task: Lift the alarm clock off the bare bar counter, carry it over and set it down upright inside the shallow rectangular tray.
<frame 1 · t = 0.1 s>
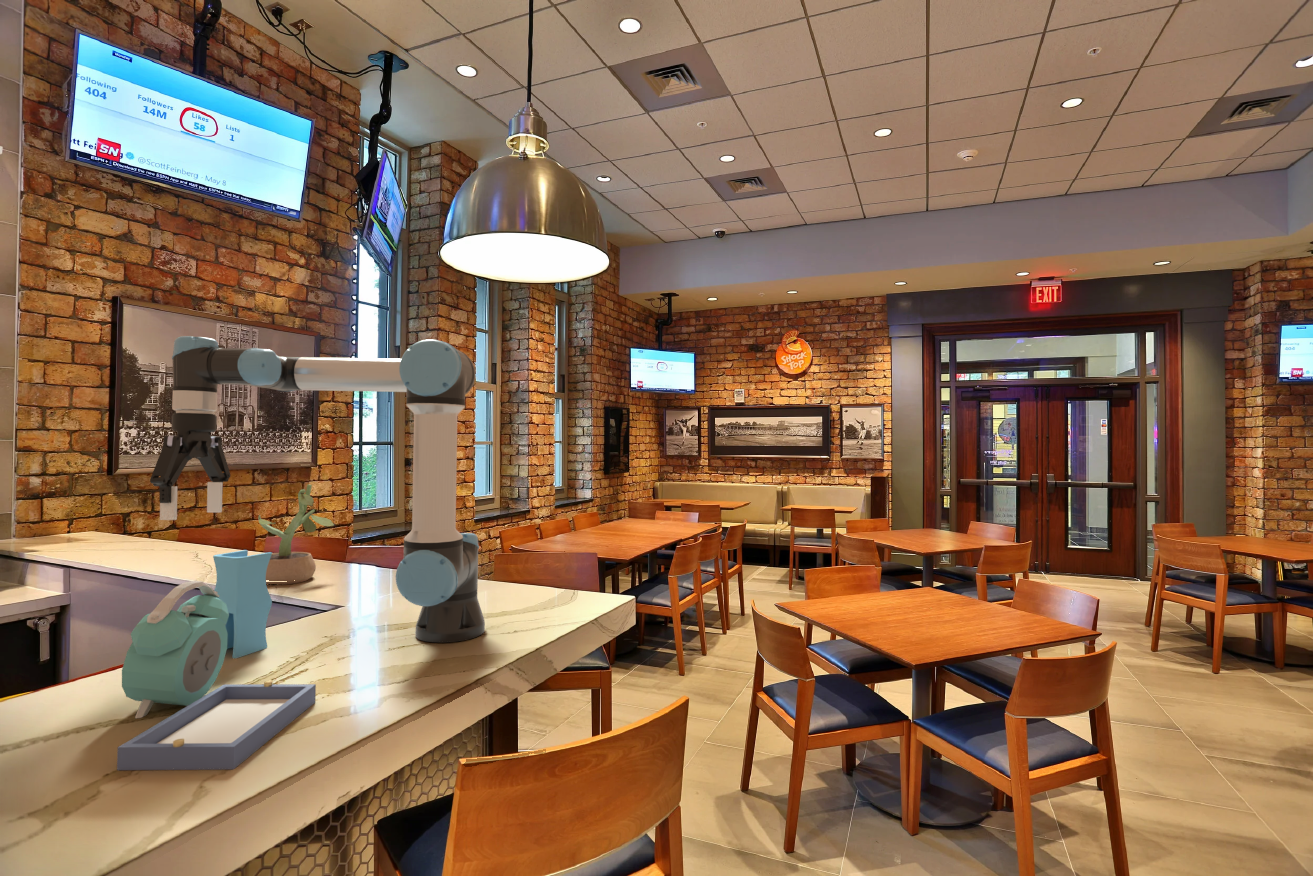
hand: (192, 516, 131), 28 cm above the bar counter, fingers open, 13 cm apart
potted plant: (292, 581, 198), on the bar counter
alarm clock: (177, 704, 106), on the bar counter
shallow rectangular tray: (228, 732, 95), on the bar counter
vase: (239, 651, 132), on the bar counter
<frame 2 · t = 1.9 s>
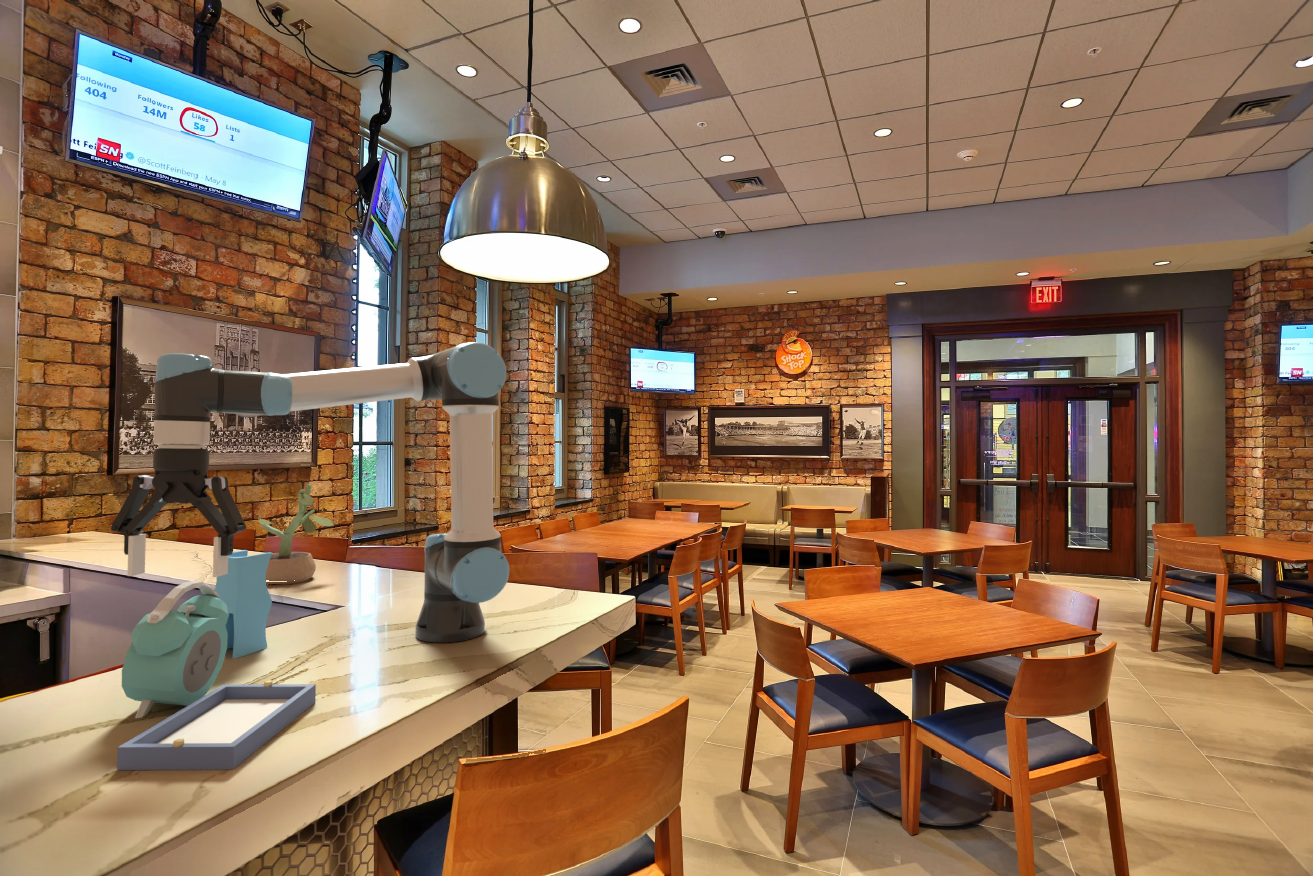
hand: (178, 575, 106), 21 cm above the bar counter, fingers open, 13 cm apart
nothing on the bar counter moved.
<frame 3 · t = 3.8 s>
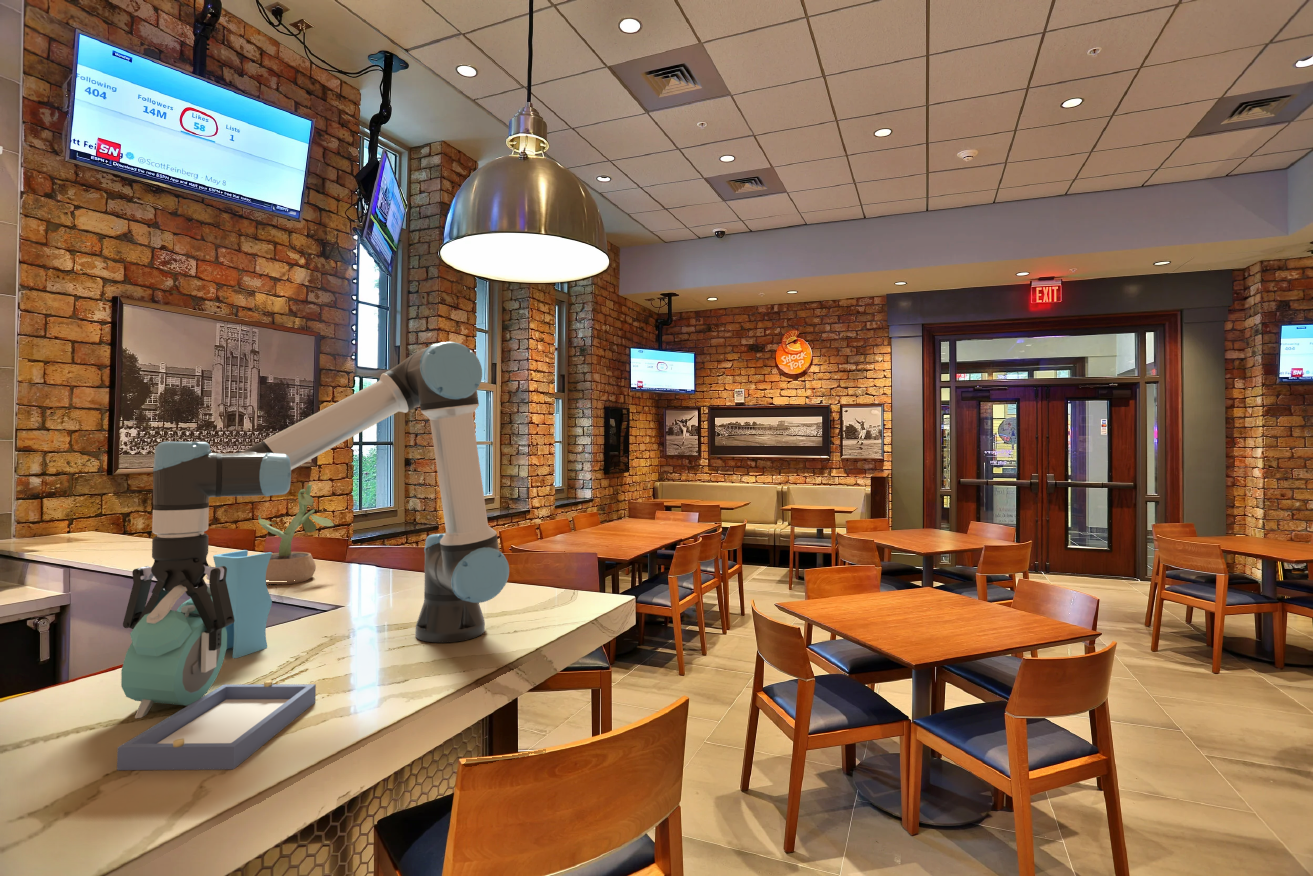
hand: (178, 669, 106), 5 cm above the bar counter, fingers closed on alarm clock, 9 cm apart
alarm clock: (176, 704, 106), on the bar counter, touching gripper
everything else where it was.
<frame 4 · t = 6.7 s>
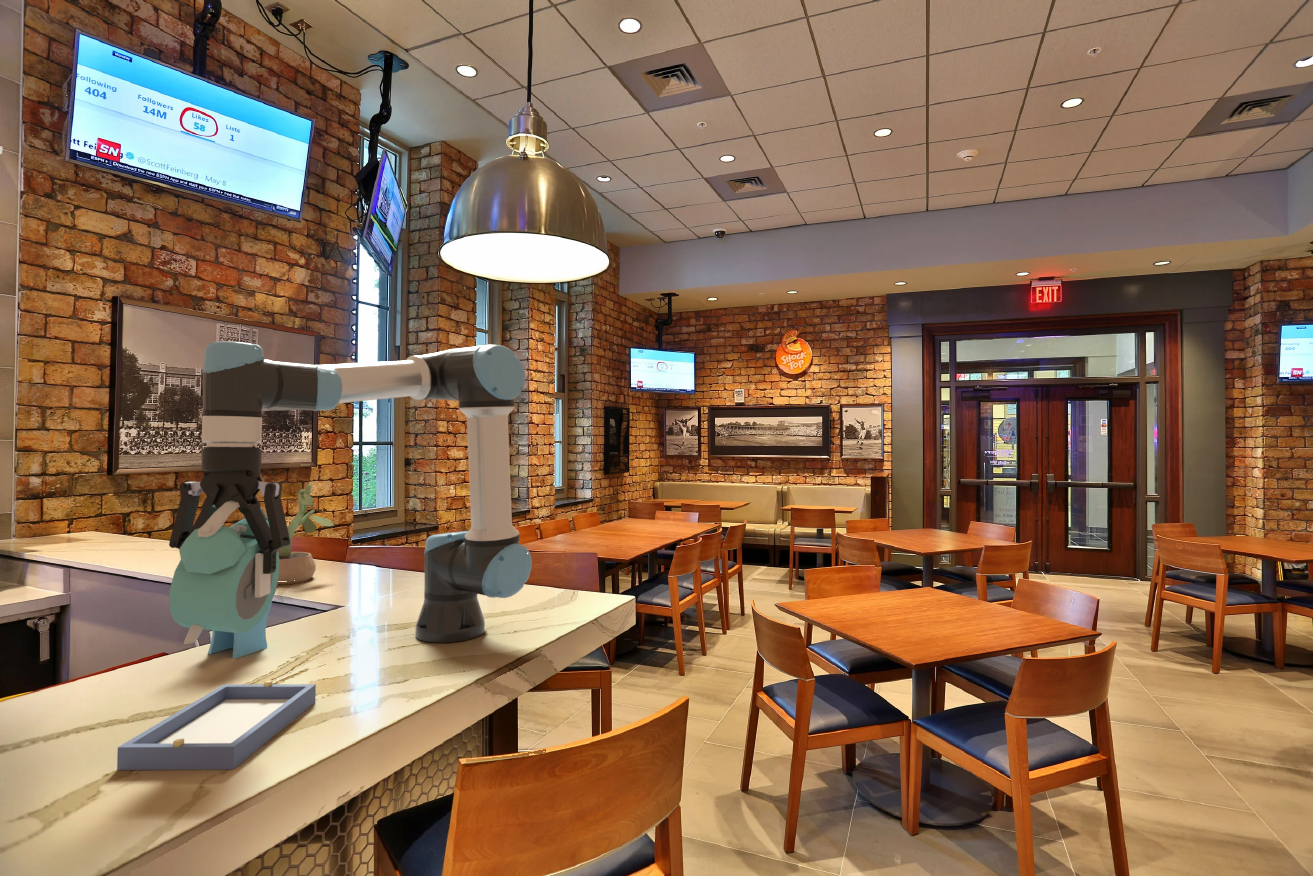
hand: (229, 595, 96), 20 cm above the bar counter, fingers closed on alarm clock, 9 cm apart
alarm clock: (227, 633, 96), point 15 cm above the bar counter, touching gripper
everything else where it was.
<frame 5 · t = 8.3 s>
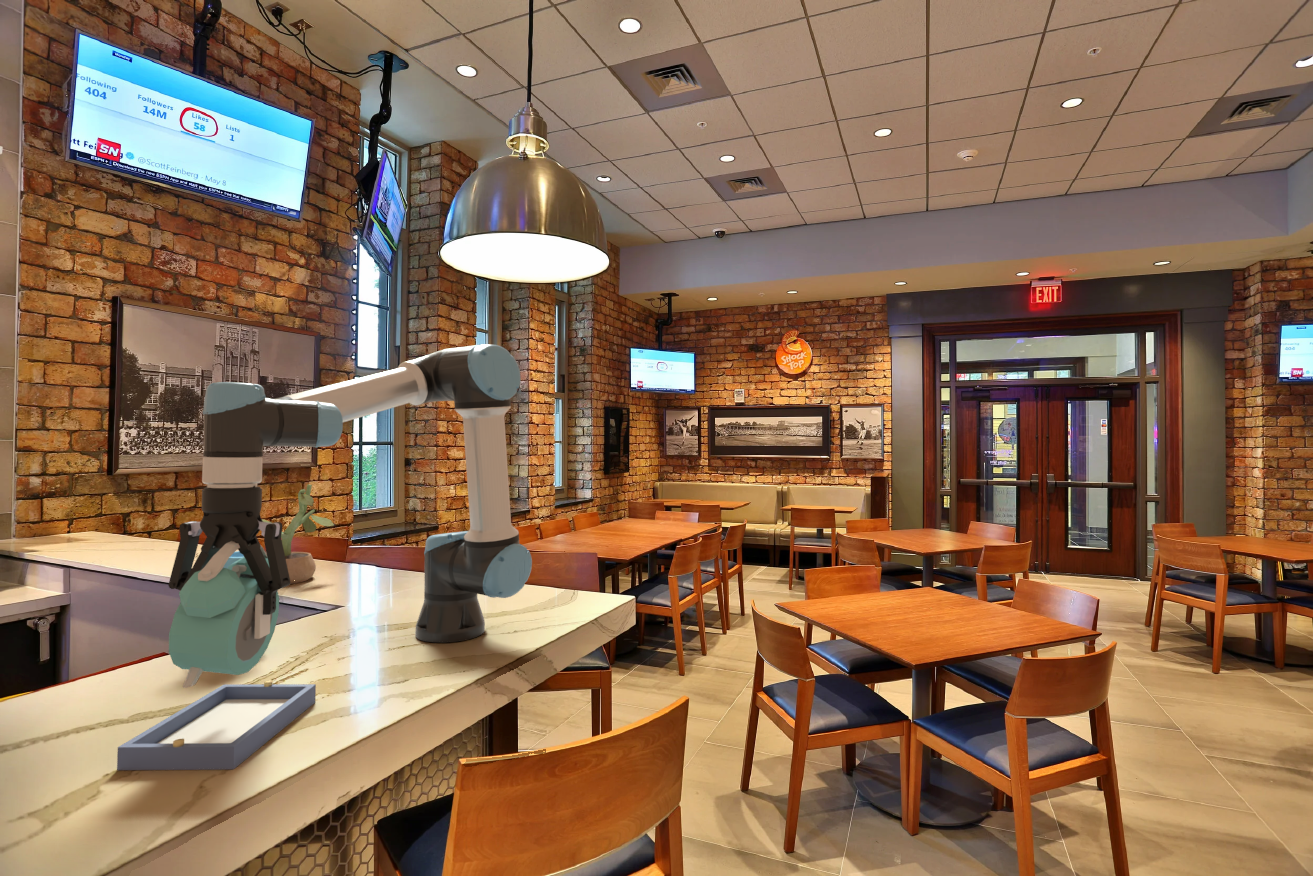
hand: (229, 635, 95), 14 cm above the bar counter, fingers closed on alarm clock, 9 cm apart
alarm clock: (226, 674, 95), point 9 cm above the bar counter, touching gripper
everything else where it was.
when the fingers open (8 cm above the bar counter, at t = 9.8 s): alarm clock drops 2 cm, resting on shallow rectangular tray.
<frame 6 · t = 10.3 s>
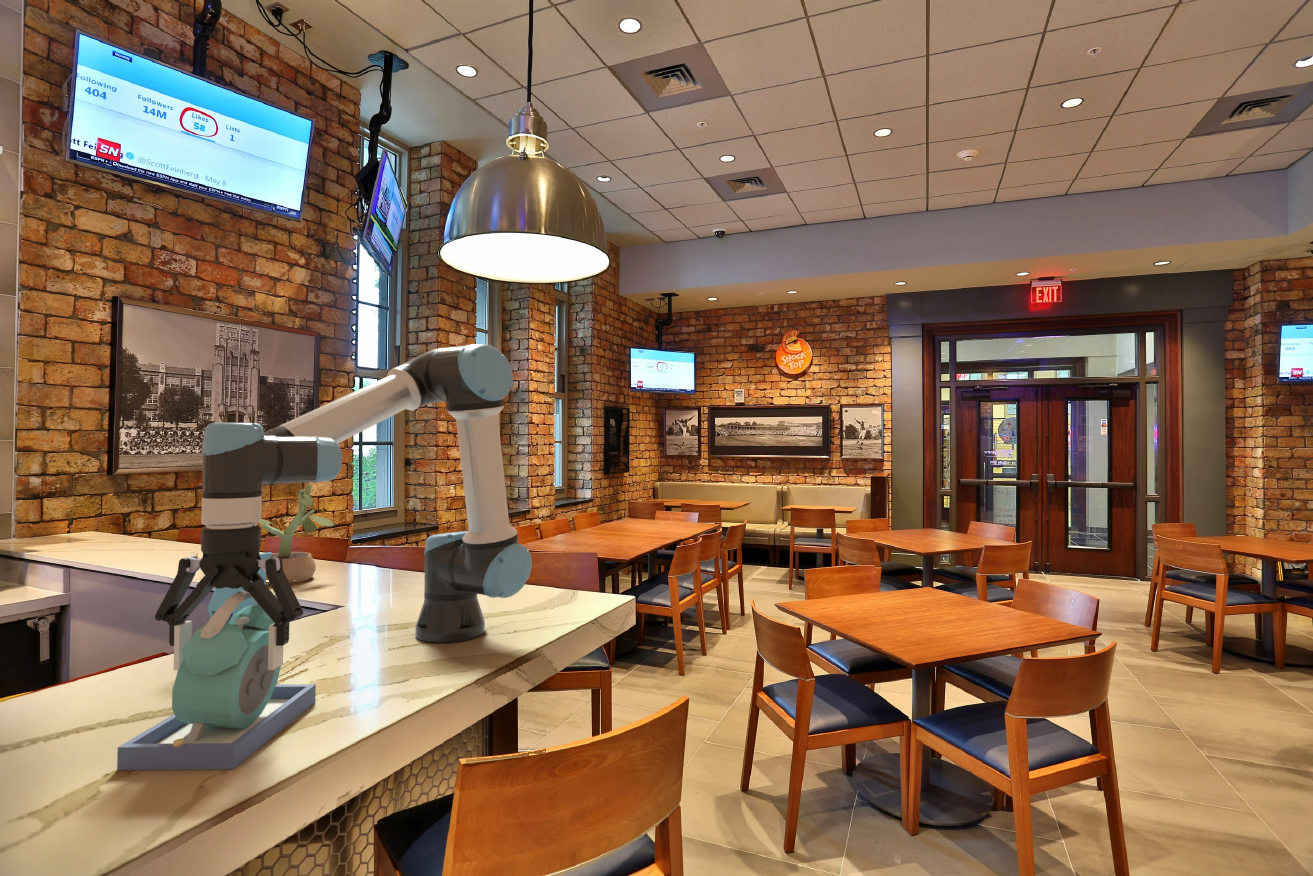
hand: (229, 667, 95), 10 cm above the bar counter, fingers open, 13 cm apart
alarm clock: (230, 726, 95), point 1 cm above the bar counter, touching shallow rectangular tray
everything else where it was.
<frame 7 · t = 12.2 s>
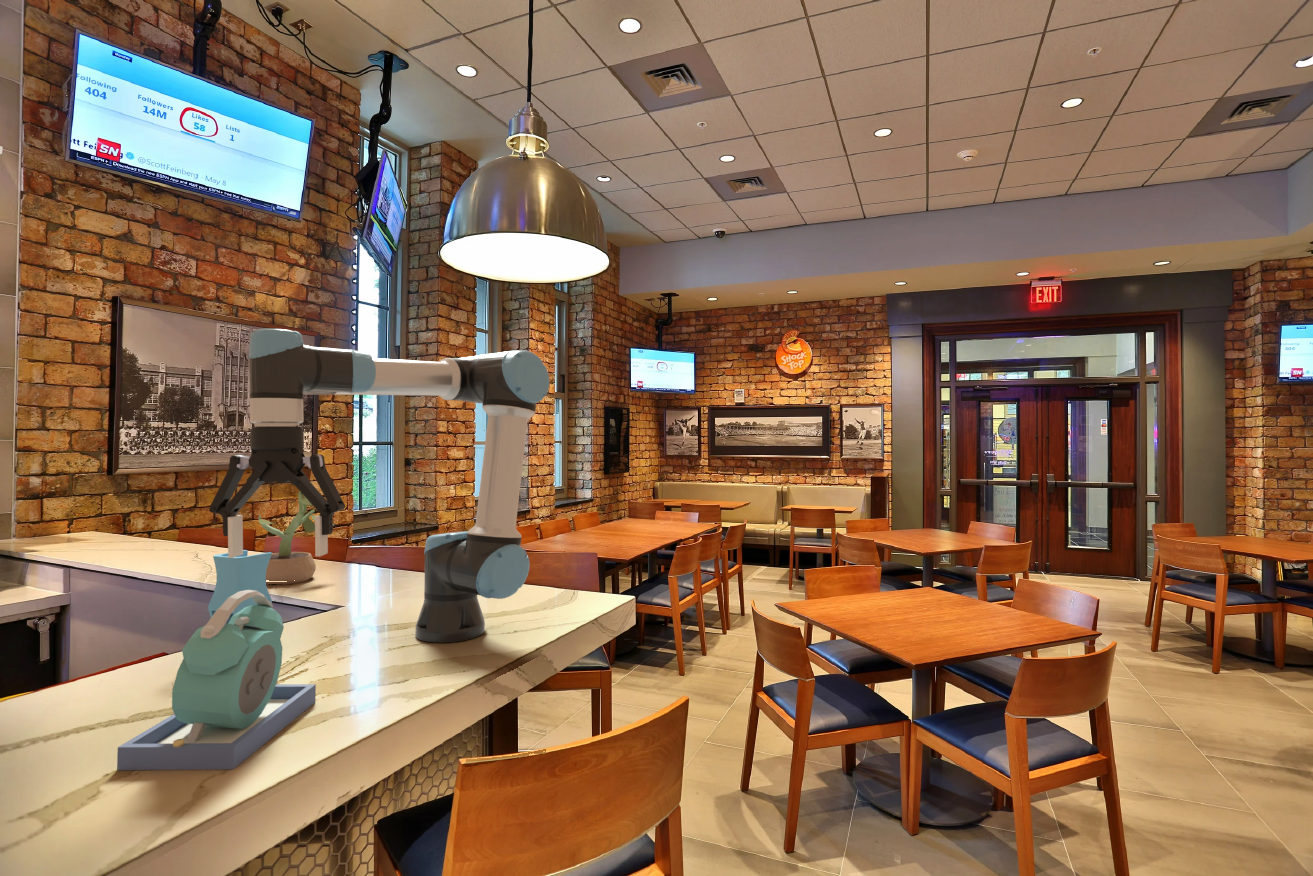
hand: (278, 555, 104), 25 cm above the bar counter, fingers open, 13 cm apart
nothing on the bar counter moved.
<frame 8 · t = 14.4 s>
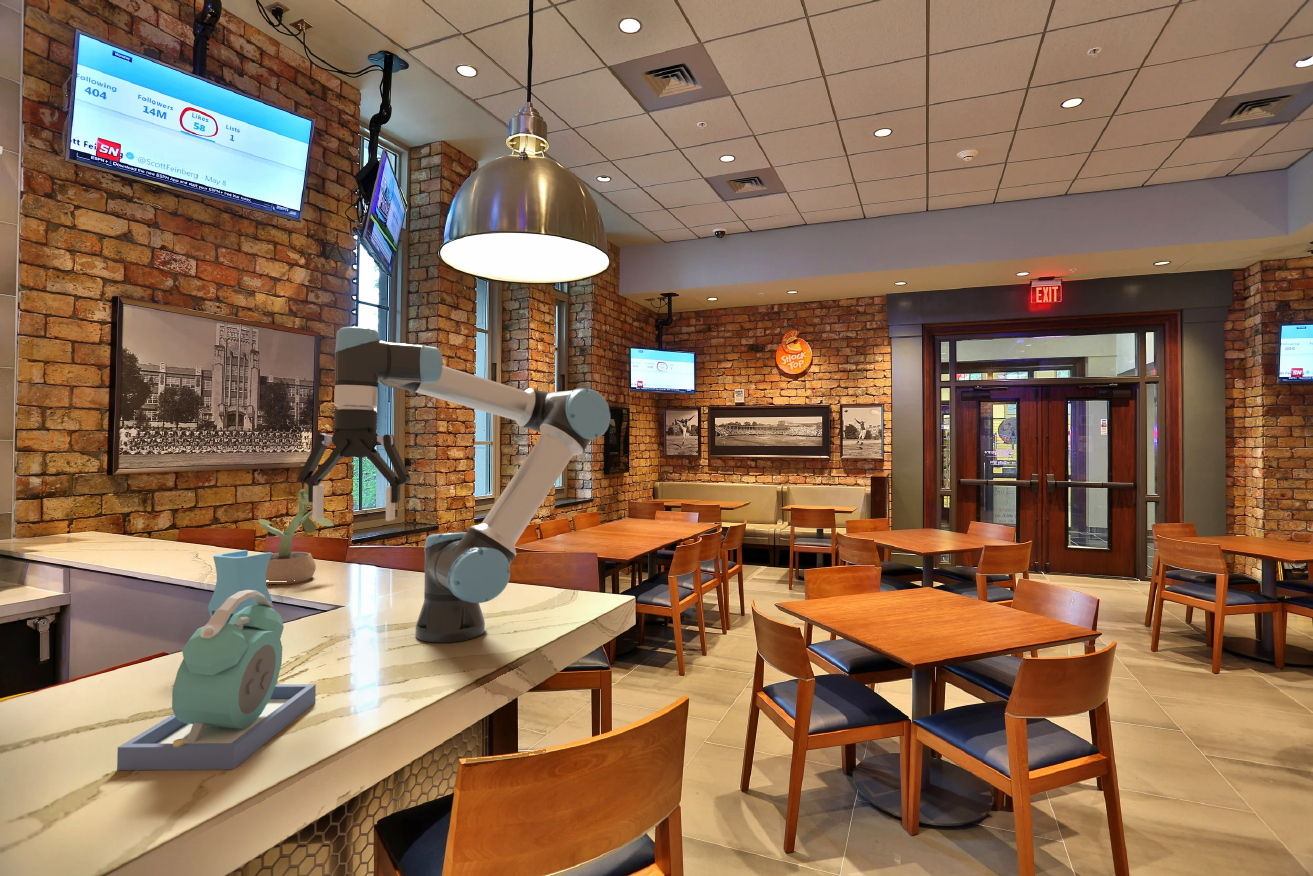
hand: (354, 520, 122), 29 cm above the bar counter, fingers open, 13 cm apart
nothing on the bar counter moved.
at the end: alarm clock inside the target area on the shallow rectangular tray (0.2 cm from its centre), point 0.8 cm above the shallow rectangular tray's base; alarm clock tilted 0°; the gripper is holding nothing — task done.
